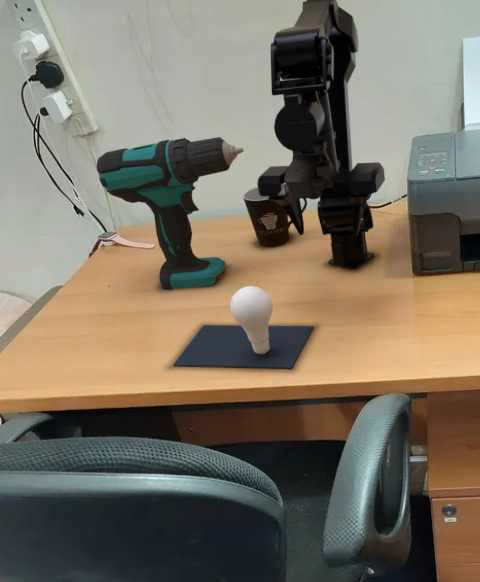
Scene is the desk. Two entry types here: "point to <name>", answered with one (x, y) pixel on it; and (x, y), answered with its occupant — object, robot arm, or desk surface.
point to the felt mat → (244, 348)
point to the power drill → (170, 198)
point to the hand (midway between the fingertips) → (328, 234)
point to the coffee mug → (268, 219)
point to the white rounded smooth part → (253, 315)
